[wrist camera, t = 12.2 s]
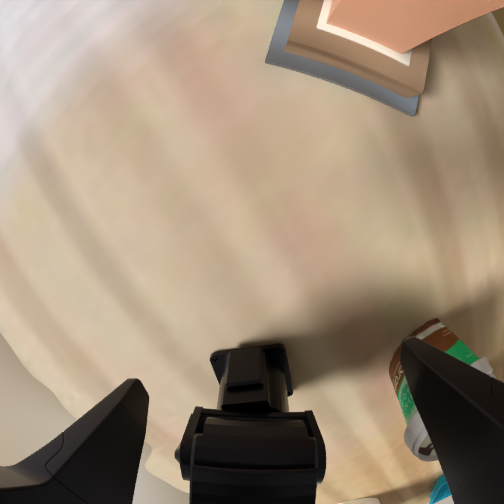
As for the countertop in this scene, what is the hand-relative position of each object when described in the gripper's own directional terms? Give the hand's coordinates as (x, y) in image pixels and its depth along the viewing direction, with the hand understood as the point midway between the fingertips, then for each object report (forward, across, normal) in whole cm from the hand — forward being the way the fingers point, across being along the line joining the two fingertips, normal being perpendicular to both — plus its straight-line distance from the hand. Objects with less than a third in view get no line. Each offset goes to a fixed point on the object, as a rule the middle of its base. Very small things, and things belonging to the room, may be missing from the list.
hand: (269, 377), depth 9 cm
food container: (+13, -12, +15) cm, 23 cm away
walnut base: (+13, -10, -15) cm, 22 cm away
